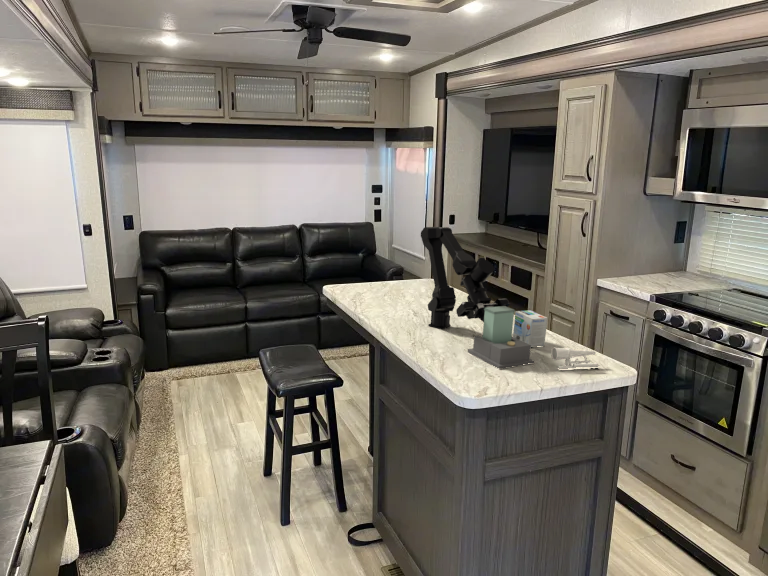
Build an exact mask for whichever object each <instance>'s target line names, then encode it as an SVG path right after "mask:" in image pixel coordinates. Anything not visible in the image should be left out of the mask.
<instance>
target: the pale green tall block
mask: <svg viewBox="0 0 768 576" xmlns="http://www.w3.org/2000/svg"><path fill="white" fill-rule="evenodd" d="M484 310H485V314H484V322H483V328H482V337H483V338H485V339H487V340H489V341H491V342H493V343H495V344H498V343H505V342H508V341H511V338H512V337H513V329H514V318H515V313H516V310H515V309H514V308H511V307H510V306H508V307H506V306H498V307H488V308H485V309H484Z"/></svg>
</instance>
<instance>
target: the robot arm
mask: <svg viewBox="0 0 768 576" xmlns="http://www.w3.org/2000/svg"><path fill="white" fill-rule="evenodd" d="M420 238H421V241H422V244H423V246H424V247H425V248H426V250H427V251H428V256H429V261H430V265H431V266H430V267H431V272H432V277H433V284H434V288H433V290H432V293H431V296H432V297H431V300H430V301H429V302H428V303H427V310H428V311H429V312H431V314H430V323H428V324H427V325H428V327H433V328H437V329H441V330H444V329H446V328H448V327H451V326H452V325H451V324H450V322H451V315H450V312H453V311H454V308H455V305H456V302H457V300H456V294H455V288H454V287H452V286H450V285H449V284H448V283H449V282H448V280H447V272H446V267H445V266H446V265H445V263H444V262H445V261H444V256H443V251H442V250H443V249H442V246H444V248H445V249H446V251H447V253H448V254H449V256H450V257H451V260H452V264H451V265H452V267H453V270H454V272H455V274H456V275H458V276H464V277H462V278H461V281H460V284H459V285H460V286H461V287H463V286H464V287H465V290H466V292H467V294H468V295H467V297H466V299H467V301H462V303H461V304H460V305H459V306H458V307H457V308H456V315H457V317H458V318H461V317H463V318H464V317H466V318H467V319H468V320H471V319H479V320H481V322H482V323H484V314H485V310H484V309H485V308H488V307H498V306H506V307H510V305H511V303H510V302H509V300H508V298H496V300H495V301H494V302H492V303H491V301H492V298H491V297H488V294H487V290H488V288H487V287H484V285H483V283H484V282H486V281H487V280H488V279H489V277H490V276H491V275H492V273H494V271H495V266H494V264H492V263H491V262H490V261H489V260H488V259H486V258H485V257H478V259H477V261H476V259H474V257H473V256H472V255H471V254H469V253H467V252H466V251H465V250H464V249H463V247H462V246H461V244H460V243H459V241H458V239H456V236H455V235H454V234H453V229H452V228H450V227H448V226H442V227H440V226H425V227H423V229H422V230H421V231H420Z"/></svg>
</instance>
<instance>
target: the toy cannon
mask: <svg viewBox="0 0 768 576" xmlns="http://www.w3.org/2000/svg"><path fill="white" fill-rule="evenodd" d="M550 355H551V359H552V360H553V361H557V360H564V364H565V365H564V366H562V365H561V366H560V365H558V366H557V367H556V368H559V369H568V368H576V367H598V366H600V364H599V363H598V362H593V363H592V362H591V360H588V359H587V356H591V355H594V356H595V355H596V351H595V350H588V349H584V348H583V349H573V348H570V347H568V346H567V347H556V346H554V347H552V348H551V350H550ZM575 357H583V359H584V360H579V359H578V358H575ZM571 358H575V360H574V361H573V360H572V361H571ZM600 367H601V366H600Z"/></svg>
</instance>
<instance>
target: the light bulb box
mask: <svg viewBox="0 0 768 576" xmlns="http://www.w3.org/2000/svg"><path fill="white" fill-rule="evenodd" d="M547 326H548V317H547V316H544V315H542V314H539V313H537V312H536V311H534V310H531V309H530V310H515V312H514V322H513V331H512V337H514V338H516V339H518V340H520V341H523V342H525V343H527V344H529V345H531V347H537V346H544V347H545V343H546V335H547ZM537 348H538V347H537Z"/></svg>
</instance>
